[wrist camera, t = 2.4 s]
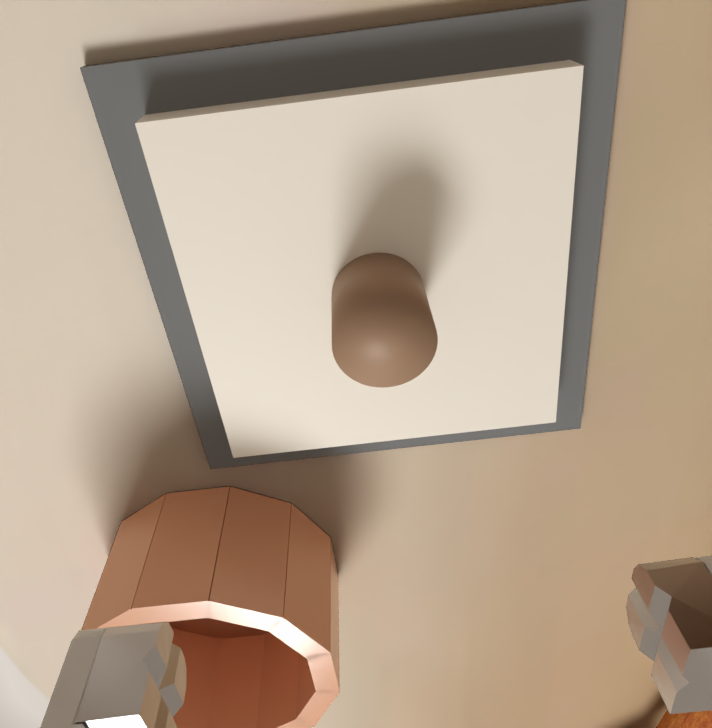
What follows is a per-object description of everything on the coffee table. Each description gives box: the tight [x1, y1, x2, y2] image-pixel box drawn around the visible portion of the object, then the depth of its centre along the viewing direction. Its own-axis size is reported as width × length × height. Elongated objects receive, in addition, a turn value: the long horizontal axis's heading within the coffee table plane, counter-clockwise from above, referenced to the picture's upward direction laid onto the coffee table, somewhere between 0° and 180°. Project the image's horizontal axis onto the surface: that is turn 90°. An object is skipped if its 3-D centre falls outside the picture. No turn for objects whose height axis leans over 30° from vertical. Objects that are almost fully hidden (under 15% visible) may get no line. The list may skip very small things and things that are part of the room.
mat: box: [80, 0, 626, 469], centre depth 23 cm, size 16×16×1 cm
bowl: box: [81, 486, 340, 728], centre depth 29 cm, size 11×11×6 cm
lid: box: [135, 60, 584, 458], centre depth 21 cm, size 13×13×4 cm
